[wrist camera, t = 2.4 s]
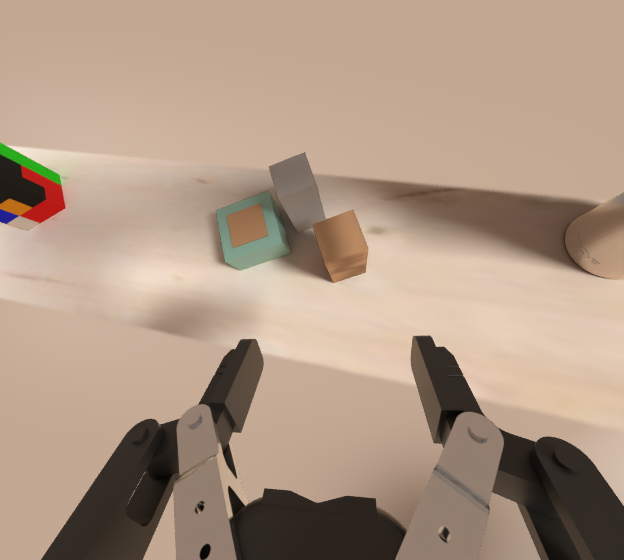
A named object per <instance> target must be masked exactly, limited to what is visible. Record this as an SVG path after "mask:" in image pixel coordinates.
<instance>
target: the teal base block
mask: <svg viewBox="0 0 624 560" xmlns="http://www.w3.org/2000/svg"><path fill="white" fill-rule="evenodd" d="M216 215H217V220H218V226H219V231H220V237H221V242H222V248H223V253H224V259H225V262H226V263H228V264H229V265H231V266H233V267H235V268H237V269H238V270H243V269H246V268H249V267H252V266H255V265H258V264H261V263H264V262H267V261H270V260H273V259H276V258H278V257H281V256H284V255H287V254H290V253H291V252H290V248H289V244H288V241H287V237H286V233H285V230H284V226H283V222H282V219H281V215H280V211H279V207H278V205H277V204H276V202H275V201H274V199H273V197H272V196H271V194H270V192H269V191H266V192H264V193H261V194H258V195H256V196H253V197H250V198H248V199H245V200H242V201H240V202H237V203H234V204H232V205H229V206H227V207H224V208H221V209H219V210H216Z"/></svg>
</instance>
